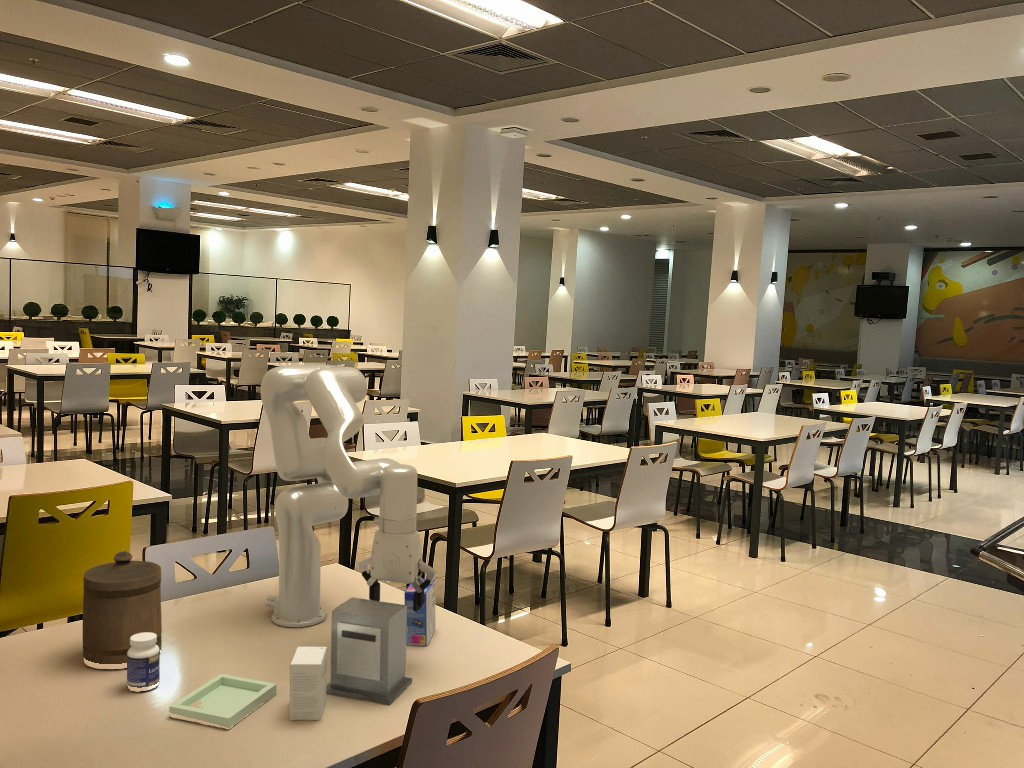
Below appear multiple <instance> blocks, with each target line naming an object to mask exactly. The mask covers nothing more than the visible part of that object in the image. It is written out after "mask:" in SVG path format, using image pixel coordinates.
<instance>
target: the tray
mask: <svg viewBox="0 0 1024 768" xmlns="http://www.w3.org/2000/svg"><path fill="white" fill-rule="evenodd" d="M273 696H274V697H275V696H277V683H274V682H269V681H262V680H257V679H252V678H245V677H242V676H241V677H240V676H235V675H230V674H225V673H220V674H218V675H216V676H215V677H213V678H212V679H210V680H209V681H207V682H205V683H204V684H202V685H201V686H199V687H198V688H196V689H194V690H193V691H191V692H190V693H188V694H186V695H184V696H183V697H181V698H180V699H178V700H177V701H175V702H173V704H171V705H169V707H168V708H169V710H168V711H169V712H170V713H172V714H177V715H181V716H185V717H188V718H194V719H197V720H202V721H205V722H209V723H213V724H217V725H220V726H224V727H227V728H230V727H231V726H232V725H234V724H235V723H237V722H238V721H240V720H241V719H242V718H243V717H245V716H246V715H247V714H249V713H250V712H252V711H253V710H254V709H256V708H257V707H258V706H259V705H261V704H262V703H264V702H266V701H267V700H268V699H270V698H271V699H273V698H274V697H273ZM272 697H273V698H272ZM271 699H270V700H271ZM198 700H199V702H200V700H201V702H202V704H201V705H200V704H199V705H200V706H201V707H200V708H195V707H190V705H191V704H192V703H194V702H196V701H198ZM201 702H200V703H201ZM267 702H268V701H267ZM267 702H266V703H267ZM202 706H203V708H202ZM198 707H199V706H198ZM201 708H202V709H201ZM240 722H241V721H240Z"/></svg>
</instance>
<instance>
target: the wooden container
mask: <svg viewBox="0 0 1024 768" xmlns="http://www.w3.org/2000/svg"><path fill="white" fill-rule="evenodd" d="M82 582H83V584H82V585H83V595H82V597H83V599H82V600H83V601H82V603H83V604H82V605H83V606H82V658H83V657H84V658H85V659H86V660H88V661H91V662H94V663H99V664H122V663H127V652H128V650H129V649H130V648H131V647H132V646H131V645H130V637H131V636H133V635H135V634H138V633H144V632H150V633H155V634H156V635H157V642H156V643H155V644H156V645H157V646H158V647H159V650H161V651H162V642H163V641H162V631H163V629H162V627H163V625H162V622H163V621H162V620H163V619H162V596H161V595H162V591H161V590H162V589H161V583H162V568H161V565H160V564H157V563H155V562H154V561H153V562H152V561H146V560H133V555H132V554H131V553H130V552H129V551H127V550H126V551H125V550H124V551H118V553H116V554H114V557H113V561H112V562H108V563H103V564H98V565H95V566H93V567H90V568H89V569H87V570H86V571H85V572H84V573H83V581H82Z"/></svg>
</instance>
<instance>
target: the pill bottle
mask: <svg viewBox="0 0 1024 768" xmlns="http://www.w3.org/2000/svg"><path fill="white" fill-rule="evenodd" d="M156 642H157V635H156V634H155V633H150V632H144V633H138V634H135V635H133V636H131V637H130V645H131V646H132V647H131V648H130V649H129V650H128V652H127V669H126V685H127V684H128V685H129V686H131V687H137V688H142V687H149V686H152V685H155V684H157V683H158V682H159V683H160V681H159V680H160V678H161V677H160V674H161V673H160V670H161V669H160V659H161V658H160V655H161V653H160V650H159V647H158V646H157V645H156V644H155V643H156Z"/></svg>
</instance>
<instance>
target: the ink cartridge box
mask: <svg viewBox="0 0 1024 768" xmlns="http://www.w3.org/2000/svg"><path fill="white" fill-rule="evenodd" d="M422 579H423V581H425V580H426V578H422ZM415 591H416V590H415V589H414V587H413V586H412V584H411V583H410V584H409V585H408V587H407V588H406V590H405V591H404V605H407V627H406V644H407V645H409V646H418V645H419V647H421V646H422V647H426V646H428V645H429V643H430V641H431V640H432V637H433V636H434V634H435V631H436V579H435V578H434V580H433V582H432V583H431V584H430V585H429V586H428V587H427V588H426V589H424V605H423V606H422V608H421V609H419V610H418V611H417V612H415V611H413V594H414V592H415ZM407 645H406V646H407Z"/></svg>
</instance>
